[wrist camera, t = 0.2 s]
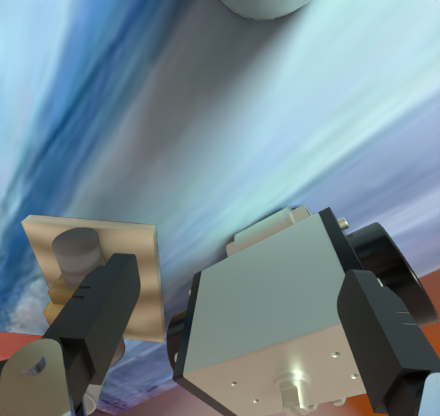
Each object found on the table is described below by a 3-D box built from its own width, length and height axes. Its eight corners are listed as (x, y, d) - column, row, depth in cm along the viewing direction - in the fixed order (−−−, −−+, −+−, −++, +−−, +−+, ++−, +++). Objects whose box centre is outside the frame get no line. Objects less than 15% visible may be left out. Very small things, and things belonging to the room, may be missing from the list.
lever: (83, 338, 29) (70, 361, 26) (90, 354, 30) (78, 378, 28) (-58, 323, 29) (-81, 346, 27) (-44, 341, 31) (-65, 363, 29)
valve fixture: (30, 214, 32) (-38, 269, 24) (155, 225, 31) (127, 284, 24) (73, 324, 43) (36, 385, 35) (166, 333, 42) (149, 397, 35)
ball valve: (230, 283, 35) (220, 462, 20) (188, 240, 32) (140, 417, 17) (367, 220, 29) (502, 417, 14) (332, 158, 26) (460, 329, 10)
